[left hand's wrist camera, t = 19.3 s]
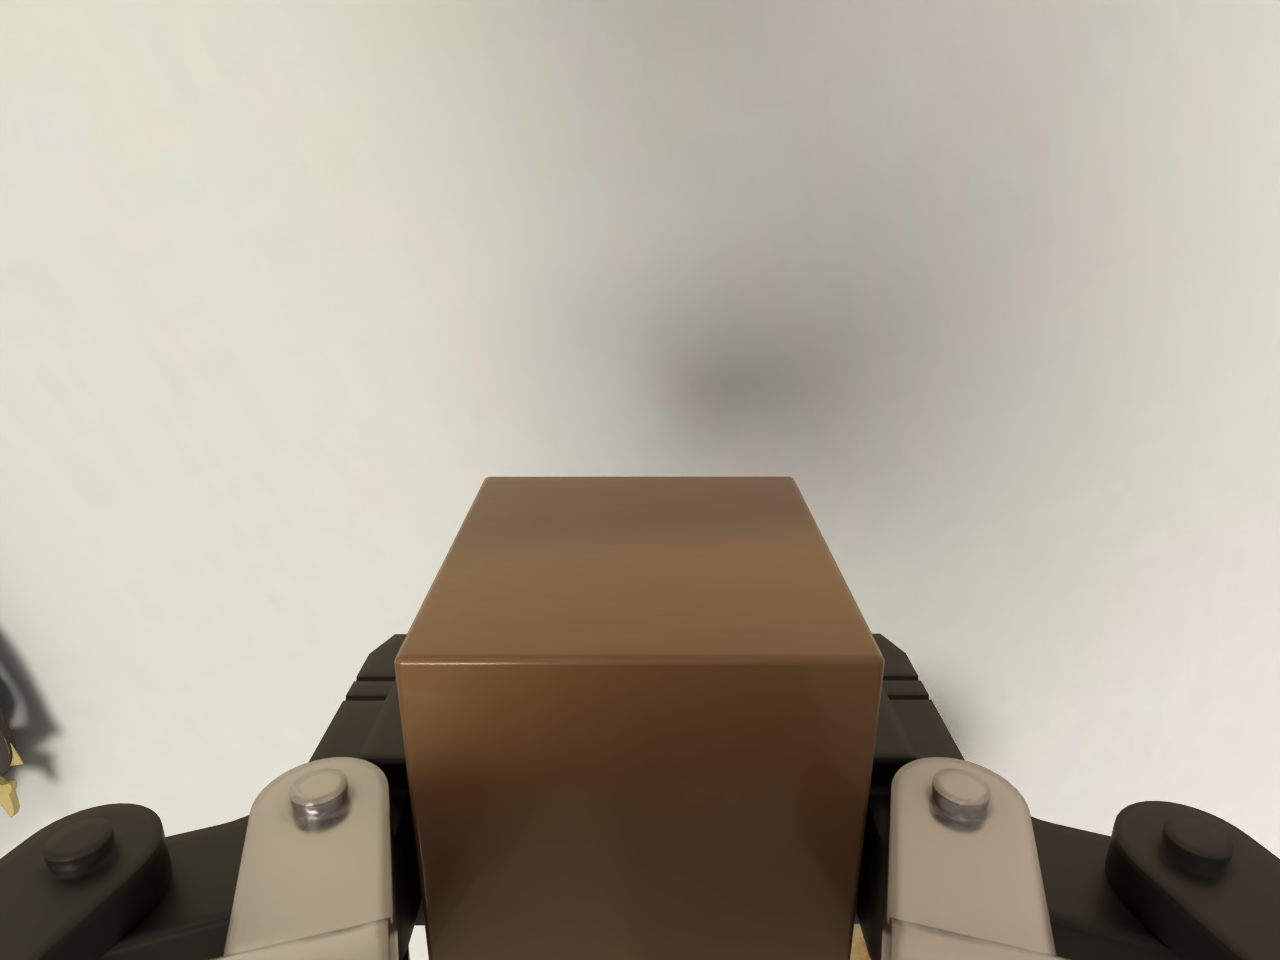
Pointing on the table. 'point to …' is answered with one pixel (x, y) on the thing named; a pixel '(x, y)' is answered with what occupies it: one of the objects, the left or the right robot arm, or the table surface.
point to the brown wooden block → (639, 726)
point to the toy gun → (3, 756)
